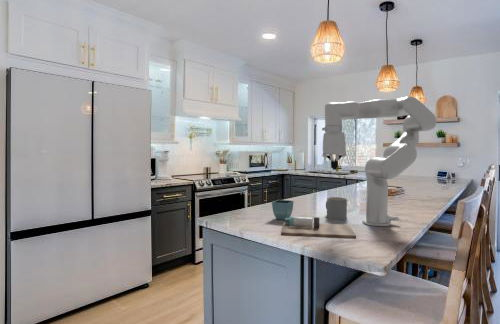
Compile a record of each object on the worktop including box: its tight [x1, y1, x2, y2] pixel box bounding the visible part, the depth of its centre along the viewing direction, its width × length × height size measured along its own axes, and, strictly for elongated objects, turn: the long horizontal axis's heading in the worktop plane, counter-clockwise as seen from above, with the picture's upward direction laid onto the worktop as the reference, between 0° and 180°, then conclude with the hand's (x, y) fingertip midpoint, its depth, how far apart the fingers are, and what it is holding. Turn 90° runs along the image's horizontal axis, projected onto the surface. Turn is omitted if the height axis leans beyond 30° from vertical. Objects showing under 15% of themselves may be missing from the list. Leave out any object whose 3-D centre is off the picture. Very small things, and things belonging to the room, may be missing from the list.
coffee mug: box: [325, 196, 348, 221], centre depth 166 cm, size 13×10×10 cm
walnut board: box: [280, 216, 357, 239], centre depth 138 cm, size 30×18×5 cm, turn 81°
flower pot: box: [271, 199, 294, 221], centre depth 161 cm, size 9×9×9 cm
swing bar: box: [289, 216, 314, 227], centre depth 142 cm, size 10×2×4 cm, turn 75°
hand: (334, 169), depth 146 cm, fingers closed
